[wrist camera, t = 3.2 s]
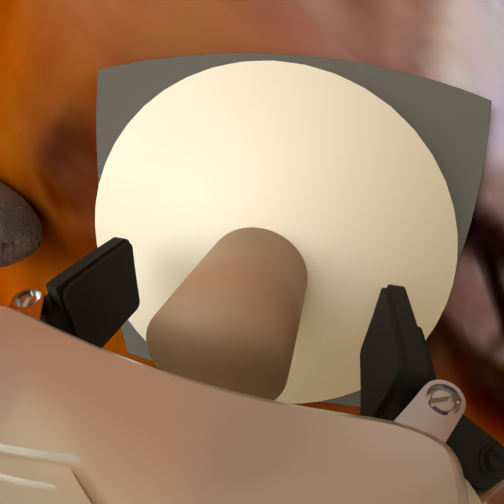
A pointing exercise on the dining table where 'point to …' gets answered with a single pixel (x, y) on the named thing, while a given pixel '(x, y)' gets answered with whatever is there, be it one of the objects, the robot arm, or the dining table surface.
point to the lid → (274, 226)
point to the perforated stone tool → (17, 227)
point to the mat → (368, 76)
